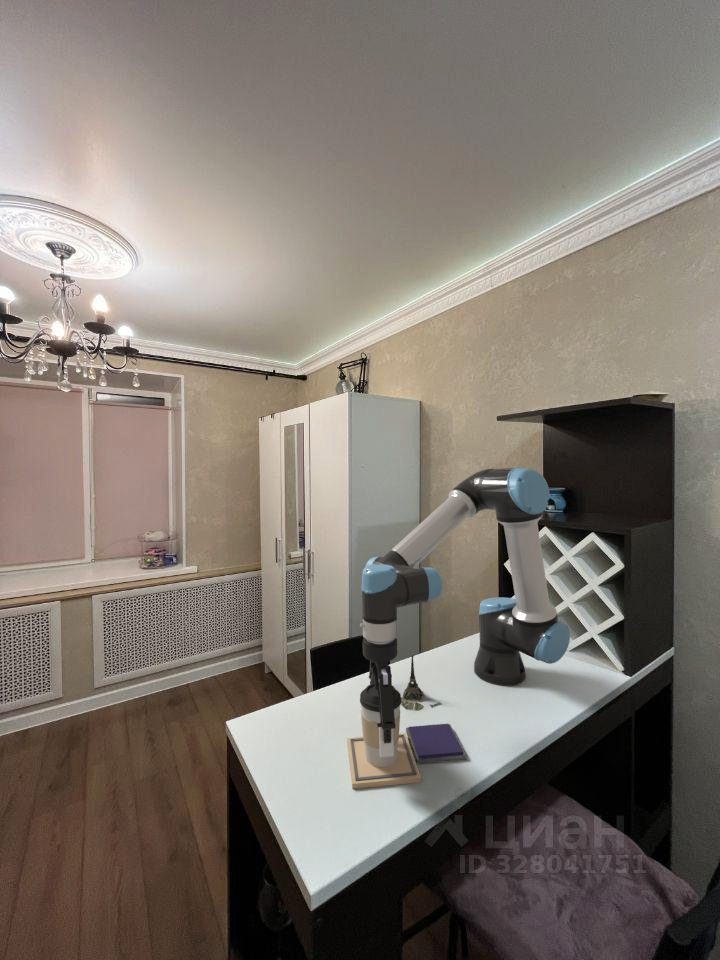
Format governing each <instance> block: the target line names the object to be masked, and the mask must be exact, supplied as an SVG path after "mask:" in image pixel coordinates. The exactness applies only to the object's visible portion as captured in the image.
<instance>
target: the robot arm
mask: <svg viewBox="0 0 720 960" xmlns="http://www.w3.org/2000/svg"><path fill="white" fill-rule="evenodd" d="M549 500H550V488H549V484H548V482H547V480H546V479H545V477H544V476H543V475H542V474H541V473H539V472H538V471H537V470H535V469H534V468H533V469H532V468H524V467H509V468H508V467H507V468H504V467H503V468H486V469H482V470H479V471H477V472H475V473H473V474H471V475H470V476H468V477H466V478H465V479H463V480H462V481H461V482H460V483H458V484H457V485H456V486H455V487H454V488H453V489H452V490H451V491H449V493H448V498H447V499H445V501H444V502H442V503H441V504H440V505H439V506H438V507H437V508H436V509H435V510H433V512H431V513H430V514H429V515H428V516H427V517H426V518H425V519H424V520H423V521H422V522H420V523H419V524H418V525H417V526H415V528H413V529H412V530H411V531H410V532H409V533H407V535H406V536H405V537H404V538H403V539H401V541H399V542H398V543H397V544H396V545H395V546H393V548H392V549H390V550H389V551H388V552H387V553H386V554H384V555H383V556H374V557H371V558H370V559H368V561H367V563H366V564H365V567H364V568H363V569H362V576H361V588H360V589H361V603H362V604H361V606H362V607H361V610H362V611H361V612H362V622H361V623H359V628H362V636H363V639H362V654H363V657H364V658H365V660H368V661H369V672H368V673H369V674H368V678H369V680H370V681H369V685H370V684H373V683H374V685H375V689H376V690H377V691H378V701H379V712H380V723H378V724H377V727H379V734H380V757H388V756H394V747H393V729H395V726H396V724H395V717H394V706H393V694H392V686H393V683H392V681H393V680H392V677H393V676H392V675H393V674H392V669H391V665H389V663H390V662H391V661H393V660H394V659H396V657H397V656H398V638H397V637H398V608H403V607H407V606H412V605H416V604H422V603H428V602H429V601H434V600H436V599H438V598H439V597H440V596H441V595H442V592H443V580H442V576H441V575H440V573H439V571H437V569H435V568H434V567H430V566H428V567H424V566H422V567H420V568H416V567H417V566H418V565H419V564H420V563H421V562H422V561H423V560H424V559H425V558H426V557H427V556H429V554H431V552H432V551H433V550H435V548H437V547H438V546H439V545H440V544H441V543H442V542H443V541H444V540H445V539H446V538H447V537H448V536H449V535H450V534H452V532H454V530H456V529H457V528H458V527H459V526H460V525H461V524H462V523H463V522H464V521H465V520H466V519H467V518H473V517H475V515H477V514H478V513H479V512H482V511H485V510H492V511H495V518H496V521H497V522H498V523H499V524H500V525H502V526H503V530H504V535H505V541H506V549H507V554H508V561H509V568H510V572H511V579H512V585H513V592H514V597H515V598H511V597H503V596H502V597H501V596H500V597H497V596H496V597H490V598H485V599H482V600H481V601H480V604H479V611H478V623H479V627H478V631H479V647H478V651H477V654H476V656H475V658H474V659H475V660H474V663H473V671H474V674H475V675H476V676H477V677H478V679H481V680H483V681H485V682H487V683H490V684H494V685H497V686H507V687H508V686H510V687H511V686H517V685H519V684H521V683H523V682H525V680H526V667H525V665H524V662H523V658H522V655H521V653H522V654H523V655H526V656H528V657H531V658H533V659H535V661H538V662H539V661H540V662H542V663H544V664H555V663H557V662H558V661H560V660H562V658H564V655H565V654H566V652H567V649H568V648H569V645H570V639H571V631H570V628H569V626H568V625H566V623H565V622H563V621H559V618H558V617H559V616H558V611H557V609H556V607H555V606H553V605H552V604H550V598H549V592H548V584H547V583H548V582H547V577H546V572H545V565H544V558H543V551H542V545H541V539H540V532H539V531H540V530H539V524H538V522H539V521H540V520H541V519H542V518H543V513H544V511H545V510H546V509H547V508H548V505H549Z"/></svg>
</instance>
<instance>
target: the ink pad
mask: <svg viewBox="0 0 720 960" xmlns="http://www.w3.org/2000/svg"><path fill="white" fill-rule="evenodd" d="M405 733H406V735H407V738H408V741H409V744H410V747H411V750H412V753H413V756H414V759H415V762H416V765H425V764H434V763H435V764H436V763H445V762H458V761H466V760H467V754H466V752H465V750H464V748H463V746H462V744H461V742H460V741H459V739H458V737H457V734H456V733H455V731H454V729H453V726H452V725H451V724H450V723H440V724H438V723H437V724H427V725H415V726H414V725H413V726H408V727H406V728H405Z"/></svg>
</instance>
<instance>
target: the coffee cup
mask: <svg viewBox="0 0 720 960" xmlns="http://www.w3.org/2000/svg"><path fill="white" fill-rule="evenodd" d="M392 694H393V706H394V717H395V724H396V726H395V729H393V747H394V756H388V757H380V734H379V727H377V724H378V723H380V712H379V701H378V691H377V690H376V689H375V685H374V683H373V684H370V683H369V684H368V685H367V686H366V687H365V688H364V689H363V690H362V691H361V692H360V695H359V703H360V708H361V709H360V715H361V717H360V718H361V729H362V737H363V740H364V745H365V756H366V760H367V762H368V763H369V764H371V765H373V766H375V767H388V766H391V765H393V764H394V763H395V762H396V760H397V748H398V740H399V734H400V725H401V724H400V722H401V708H400V707H401V697H402V695H401V693H400V692H399V690H397V689H396V687H395V686H394V685H392Z"/></svg>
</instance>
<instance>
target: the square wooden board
mask: <svg viewBox="0 0 720 960" xmlns="http://www.w3.org/2000/svg"><path fill="white" fill-rule="evenodd" d="M346 740H347V741H346V742H347V752H348V759H349V761H348V762H349V769H350V771H349V772H350V777H351V778H350V779H351V787H352V788H351V789H352V790H354V789H355V790H357V789H364V788H365V789H367V788H376V787H385V786H393V785H404V784H405V785H406V784H414V783H415V784H416V783H421V782H422V777H421V776H422V775H421V773H420V772H419V768H418V764H417V762H416V759H415V756H414V753H413V750H412V748H411V745H410V742H409V739H408V736H407V733H406V732H404V733H403V732H402V733H399V740H398V748H397V760H396V762H395V763H394V764H393V765H391V766H388V767H375V766H373V765H371V764H369V763H368V762H367V760H366V756H365V745H364V740H363V736H359V737H358V736H354V737H347V738H346Z"/></svg>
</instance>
